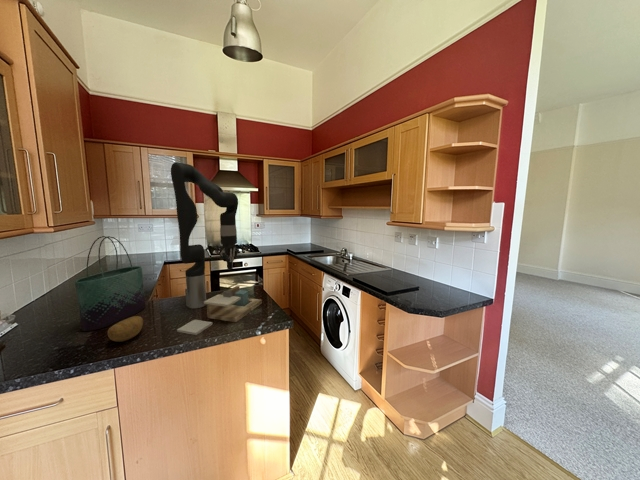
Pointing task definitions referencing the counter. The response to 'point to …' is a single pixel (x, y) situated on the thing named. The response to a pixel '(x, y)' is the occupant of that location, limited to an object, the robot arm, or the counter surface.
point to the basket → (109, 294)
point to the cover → (223, 299)
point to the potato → (125, 329)
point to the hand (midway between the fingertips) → (230, 269)
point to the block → (242, 298)
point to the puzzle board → (232, 309)
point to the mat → (194, 327)
